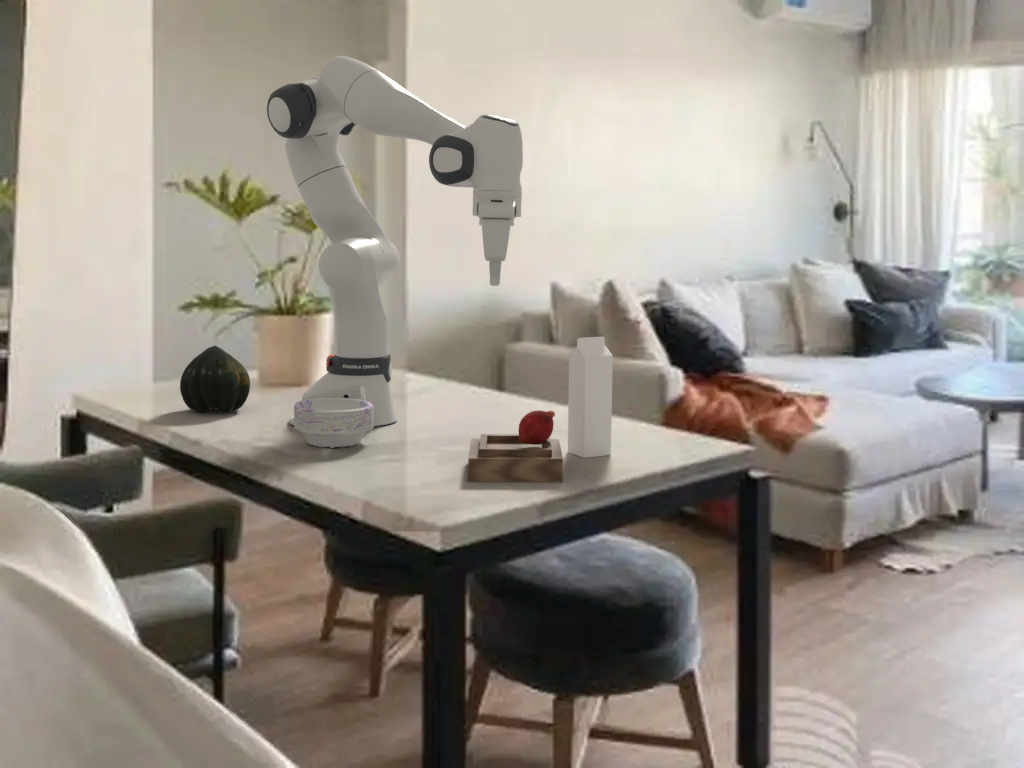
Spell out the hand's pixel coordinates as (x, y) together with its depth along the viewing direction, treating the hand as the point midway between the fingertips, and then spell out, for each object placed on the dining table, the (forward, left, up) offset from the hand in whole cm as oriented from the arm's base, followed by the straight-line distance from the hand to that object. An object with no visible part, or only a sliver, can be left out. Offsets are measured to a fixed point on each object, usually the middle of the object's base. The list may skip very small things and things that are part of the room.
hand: (495, 283), depth 218 cm
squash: (-62, +41, -32) cm, 81 cm away
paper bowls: (-31, +8, -32) cm, 46 cm away
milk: (+18, 0, -32) cm, 37 cm away
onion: (+5, -13, -27) cm, 30 cm away
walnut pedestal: (+4, -14, -32) cm, 35 cm away
